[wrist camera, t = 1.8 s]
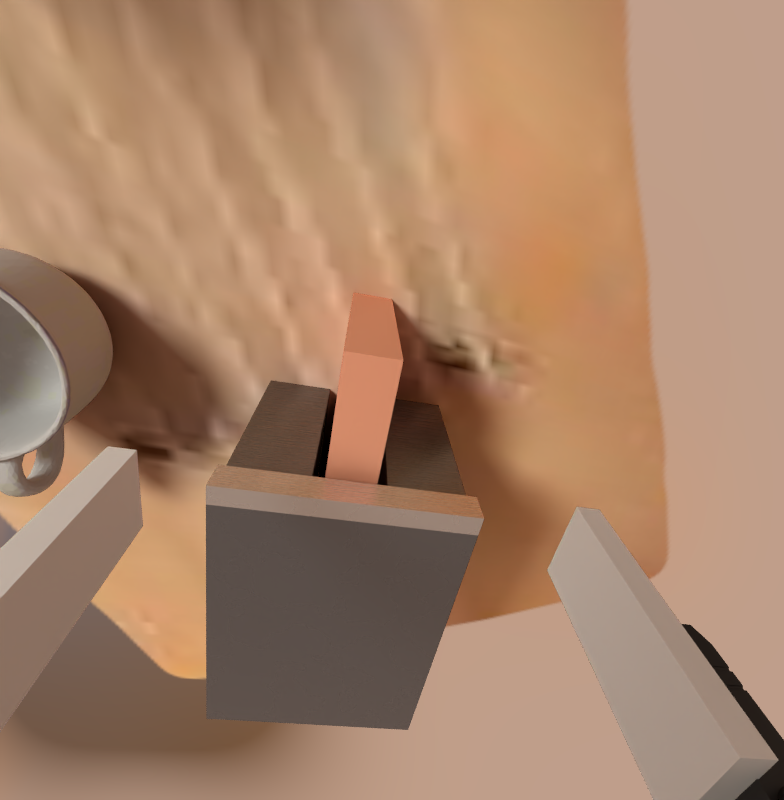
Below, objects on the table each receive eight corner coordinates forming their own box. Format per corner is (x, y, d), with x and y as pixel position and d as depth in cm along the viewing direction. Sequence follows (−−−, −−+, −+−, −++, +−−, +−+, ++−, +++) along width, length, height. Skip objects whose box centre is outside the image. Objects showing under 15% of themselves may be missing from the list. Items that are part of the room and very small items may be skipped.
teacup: (-69, 219, 24) (-251, 233, 17) (130, 251, 26) (37, 275, 19) (-10, 428, 31) (-127, 502, 23) (149, 446, 32) (84, 521, 25)
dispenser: (271, 367, 29) (205, 485, 18) (441, 393, 31) (484, 518, 19) (259, 549, 37) (206, 718, 25) (396, 563, 38) (407, 729, 26)
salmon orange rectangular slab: (353, 292, 27) (343, 350, 17) (392, 299, 28) (403, 360, 18) (330, 449, 32) (312, 562, 23) (363, 453, 33) (359, 567, 23)
